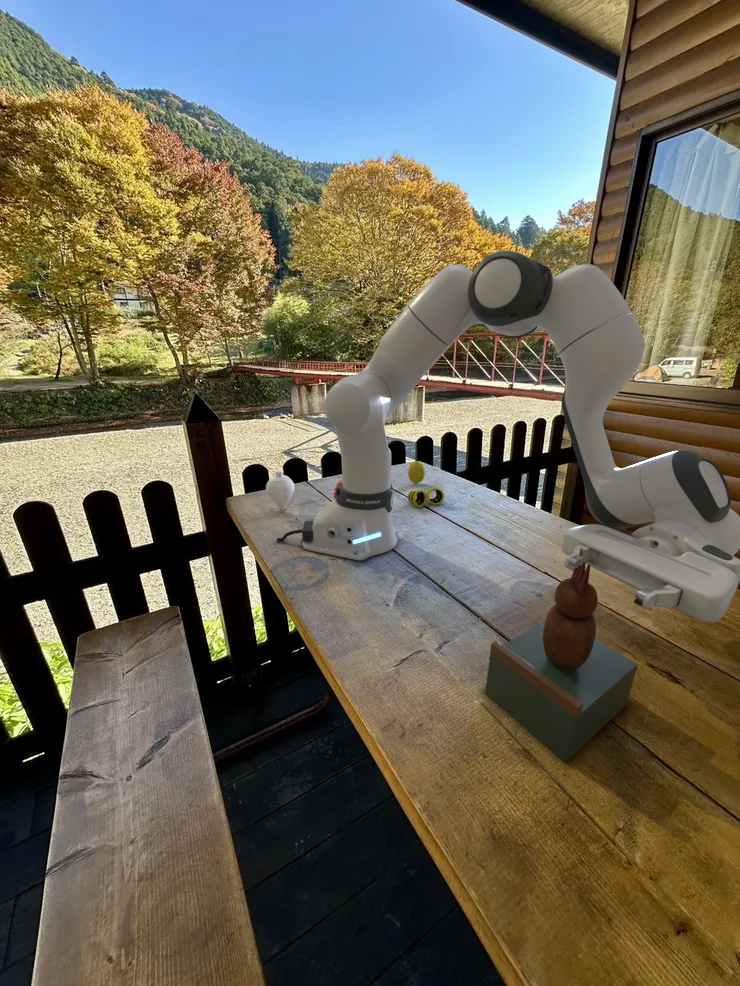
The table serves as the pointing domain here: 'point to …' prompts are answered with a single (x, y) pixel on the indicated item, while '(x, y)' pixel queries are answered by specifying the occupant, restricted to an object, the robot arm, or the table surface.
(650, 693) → the table surface
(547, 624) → the wooden figurine
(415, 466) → the lemon
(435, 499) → the opera glasses
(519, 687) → the step stand
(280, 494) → the spinning top
